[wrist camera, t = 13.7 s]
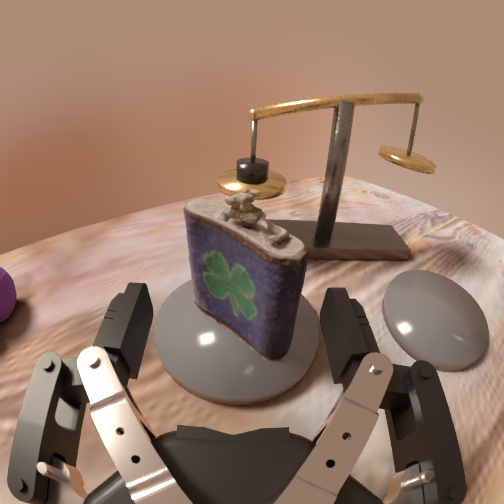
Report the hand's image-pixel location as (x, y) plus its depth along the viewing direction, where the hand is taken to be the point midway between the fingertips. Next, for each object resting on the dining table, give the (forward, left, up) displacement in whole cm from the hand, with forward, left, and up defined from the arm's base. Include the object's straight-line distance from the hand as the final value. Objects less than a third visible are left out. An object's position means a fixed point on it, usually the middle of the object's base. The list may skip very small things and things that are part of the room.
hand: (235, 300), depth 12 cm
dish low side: (0, -5, -9) cm, 11 cm away
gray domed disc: (-20, -5, -9) cm, 23 cm away
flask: (0, -5, -8) cm, 10 cm away
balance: (-10, -18, -9) cm, 23 cm away
